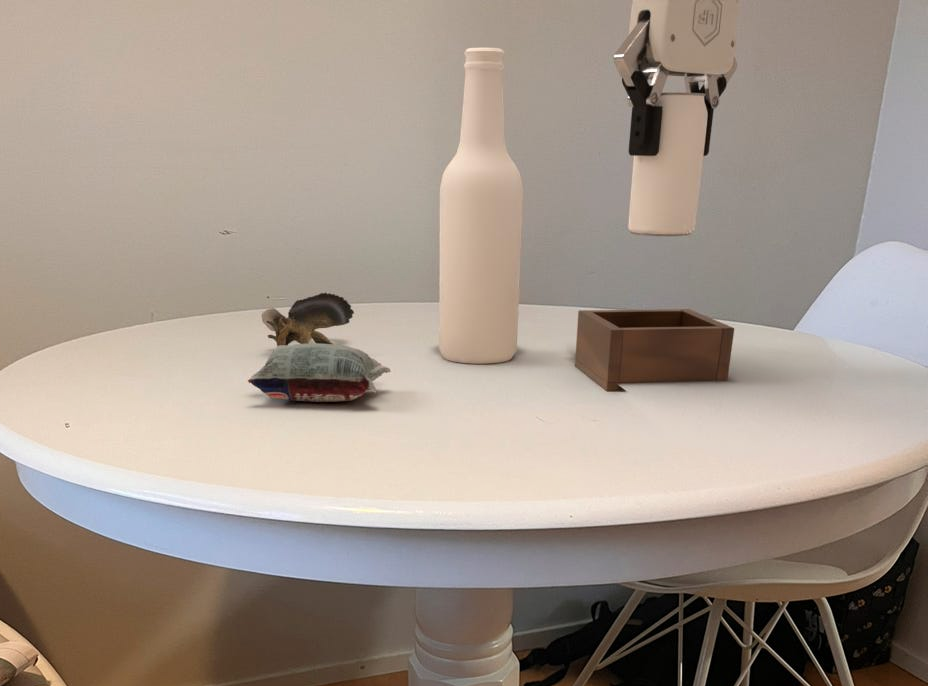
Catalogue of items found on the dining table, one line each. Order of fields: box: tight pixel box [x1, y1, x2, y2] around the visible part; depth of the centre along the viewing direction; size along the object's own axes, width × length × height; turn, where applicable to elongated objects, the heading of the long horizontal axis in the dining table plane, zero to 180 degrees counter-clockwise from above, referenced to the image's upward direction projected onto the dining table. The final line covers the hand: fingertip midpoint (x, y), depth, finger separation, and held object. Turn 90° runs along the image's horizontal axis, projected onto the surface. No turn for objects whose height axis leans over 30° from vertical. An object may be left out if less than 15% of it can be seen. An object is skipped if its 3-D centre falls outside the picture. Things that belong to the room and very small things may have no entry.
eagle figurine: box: [260, 292, 355, 347], centre depth 111 cm, size 8×7×9 cm
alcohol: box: [438, 47, 524, 365], centre depth 104 cm, size 9×9×30 cm
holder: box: [574, 308, 735, 392], centre depth 101 cm, size 12×12×6 cm
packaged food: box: [247, 343, 391, 403], centre depth 91 cm, size 9×12×5 cm
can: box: [627, 92, 708, 237], centre depth 93 cm, size 6×6×12 cm
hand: (668, 153), depth 93 cm, fingers closed on can, 6 cm apart
